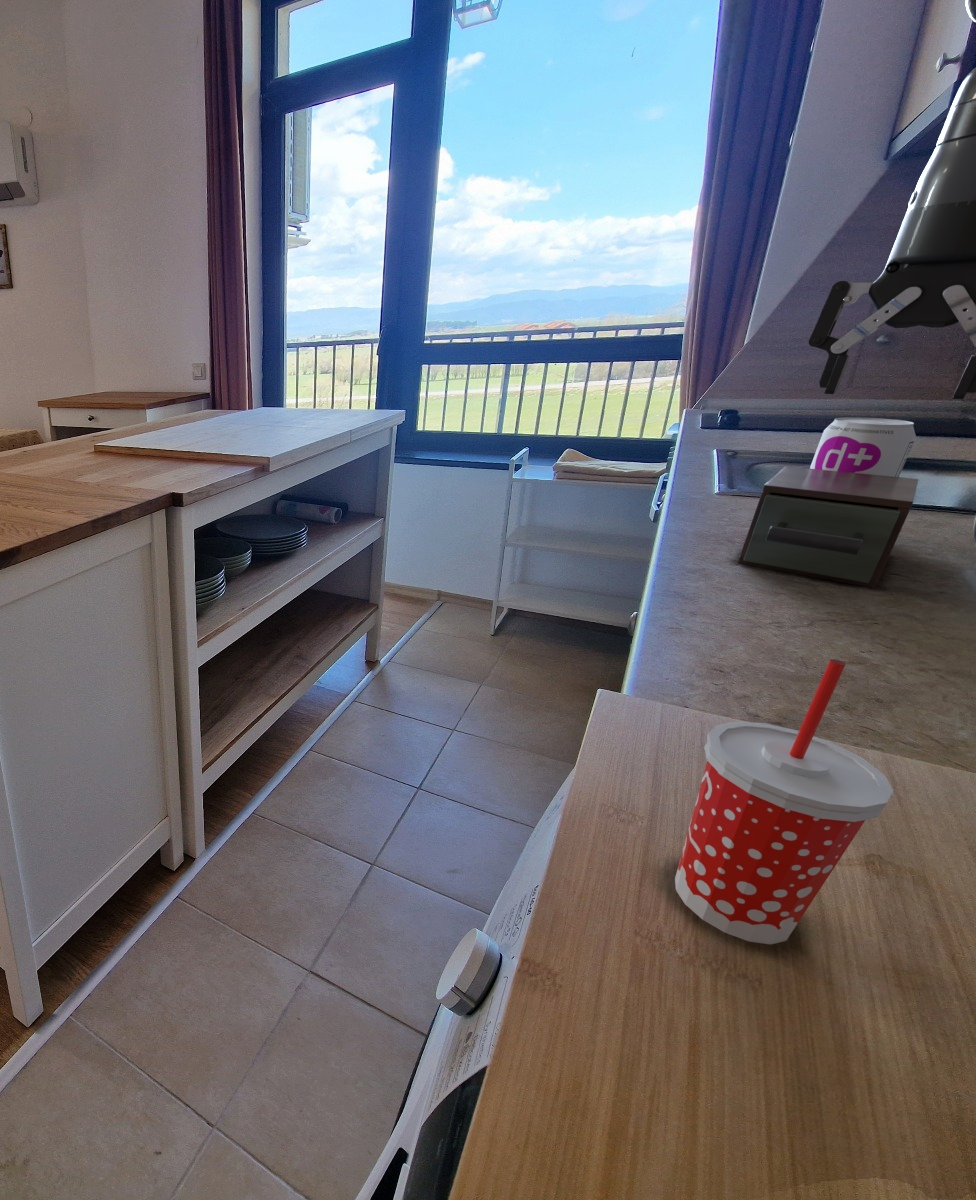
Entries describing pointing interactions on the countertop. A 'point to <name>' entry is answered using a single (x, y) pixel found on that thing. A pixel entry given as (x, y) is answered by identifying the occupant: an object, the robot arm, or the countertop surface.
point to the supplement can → (865, 446)
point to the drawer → (821, 536)
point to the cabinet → (840, 488)
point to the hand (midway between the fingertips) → (890, 396)
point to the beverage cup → (773, 821)
